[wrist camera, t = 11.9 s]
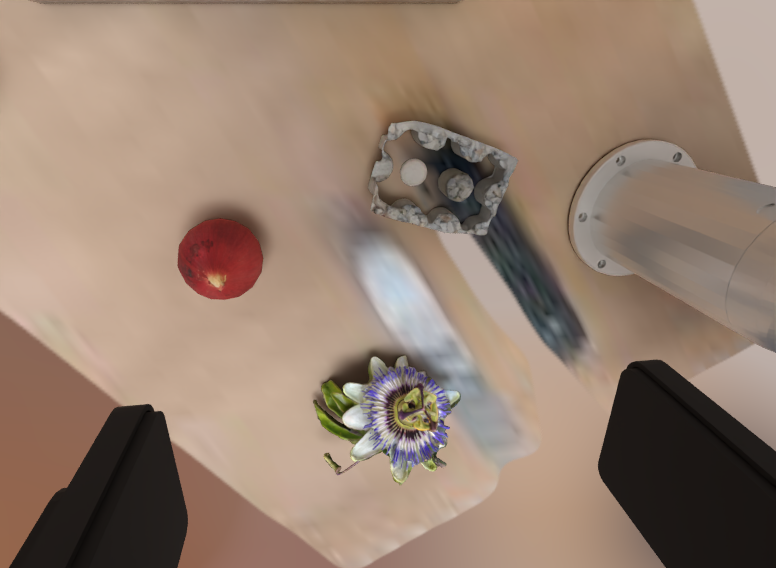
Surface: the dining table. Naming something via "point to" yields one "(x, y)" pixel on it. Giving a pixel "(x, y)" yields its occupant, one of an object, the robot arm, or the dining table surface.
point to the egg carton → (443, 180)
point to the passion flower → (390, 417)
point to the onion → (220, 259)
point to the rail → (246, 1)
